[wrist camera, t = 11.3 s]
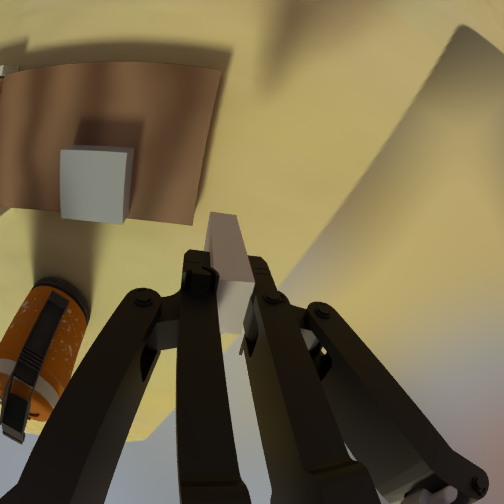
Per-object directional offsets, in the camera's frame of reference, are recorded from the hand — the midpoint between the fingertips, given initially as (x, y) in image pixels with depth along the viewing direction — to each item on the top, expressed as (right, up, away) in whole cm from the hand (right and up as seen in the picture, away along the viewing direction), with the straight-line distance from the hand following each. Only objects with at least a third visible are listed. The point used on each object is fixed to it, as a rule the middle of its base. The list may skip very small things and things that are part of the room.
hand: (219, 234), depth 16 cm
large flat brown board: (-13, +10, +5) cm, 17 cm away
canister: (-22, -7, +13) cm, 27 cm away
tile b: (-11, +5, +5) cm, 14 cm away
